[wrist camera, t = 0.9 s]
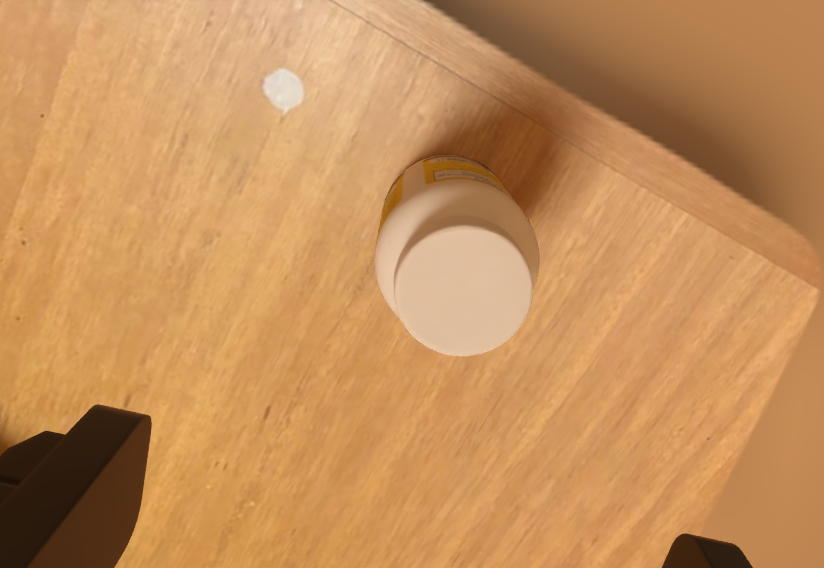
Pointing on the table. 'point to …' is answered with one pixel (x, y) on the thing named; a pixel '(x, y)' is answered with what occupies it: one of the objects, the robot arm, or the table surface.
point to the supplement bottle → (455, 256)
